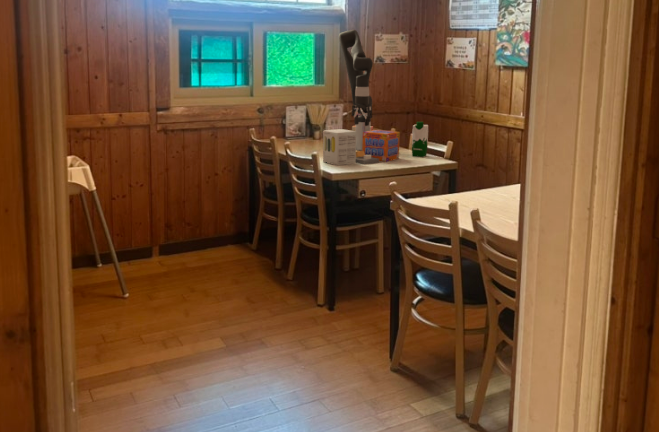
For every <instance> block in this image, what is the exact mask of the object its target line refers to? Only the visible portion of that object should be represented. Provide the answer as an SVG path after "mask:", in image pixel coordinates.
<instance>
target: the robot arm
mask: <svg viewBox="0 0 659 432" xmlns="http://www.w3.org/2000/svg"><path fill="white" fill-rule="evenodd" d="M338 39H339V43H340V47H341V51H342V54H343V57H344V62H345V68H346V73H347V77H348V81H349V84H350V85H349V86H350V90H351V91H350V92H351V100H352V104H353V105H352V107H351V116H352V117H353V118H354V119H353V120H354V126H355V131H356V151H362V146H363V132H366V131H370V128H371V125H372V124H371V123H372V121H371V120H372V118H373V98H372V96H371V95H370V87H369V86H370V75H371V72H372V69H373V63H374V62H373V59H372V58H370V57H367V56H366V53H365V51H364V48H363V46H362V42H361V41H362V40H361V38H360V34H359V33H358V31H357V30H356V29H350V30H346V31H343V32H340V33H339V35H338ZM349 48H351V49H350V51H349Z"/></svg>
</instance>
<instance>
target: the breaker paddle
mask: <svg viewBox="0 0 659 432" xmlns="http://www.w3.org/2000/svg"><path fill="white" fill-rule="evenodd" d="M364 155H365V153H364V151H362V150H356V157H364Z"/></svg>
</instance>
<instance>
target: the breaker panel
mask: <svg viewBox="0 0 659 432" xmlns="http://www.w3.org/2000/svg"><path fill="white" fill-rule="evenodd" d="M376 163H377V164H378V163H380V161H379V159H378V158H372V157H371V155H364V157H356V163H355V164H360V165H369V164H376Z"/></svg>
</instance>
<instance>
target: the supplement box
mask: <svg viewBox="0 0 659 432" xmlns="http://www.w3.org/2000/svg"><path fill="white" fill-rule="evenodd" d="M322 132H323V134H322V135H323V136H322V140H323V142H322V147H323V148H322V150H323V153H322V154H323V155H322V162H323V163H325V162H327V163H326V164H330V163H331V165H335V166H341V165H351V164H357V163H356V152H357V150H356V131H352V130H348V129H343V128H340V129H339V128H338V129H326V130H323V131H322Z"/></svg>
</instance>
